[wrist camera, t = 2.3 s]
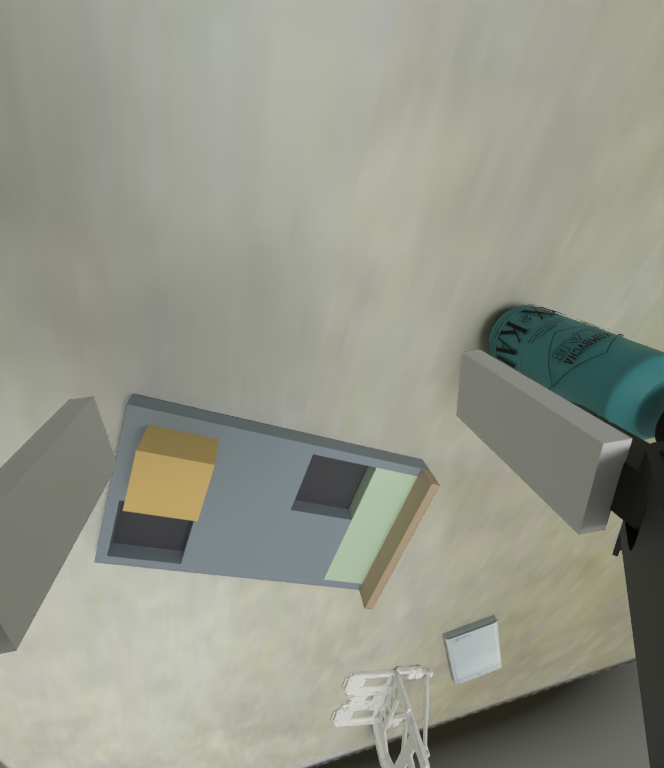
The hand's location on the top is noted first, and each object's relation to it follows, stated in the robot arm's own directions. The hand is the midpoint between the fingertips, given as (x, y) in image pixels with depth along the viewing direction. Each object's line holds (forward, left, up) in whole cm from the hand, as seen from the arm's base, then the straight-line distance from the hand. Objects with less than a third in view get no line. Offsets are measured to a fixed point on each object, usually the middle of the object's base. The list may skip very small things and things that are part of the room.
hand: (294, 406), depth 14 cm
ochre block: (-4, -17, -19) cm, 25 cm away
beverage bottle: (+23, +4, -21) cm, 32 cm away
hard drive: (+45, -42, -22) cm, 65 cm away
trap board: (+6, -21, -21) cm, 30 cm away
